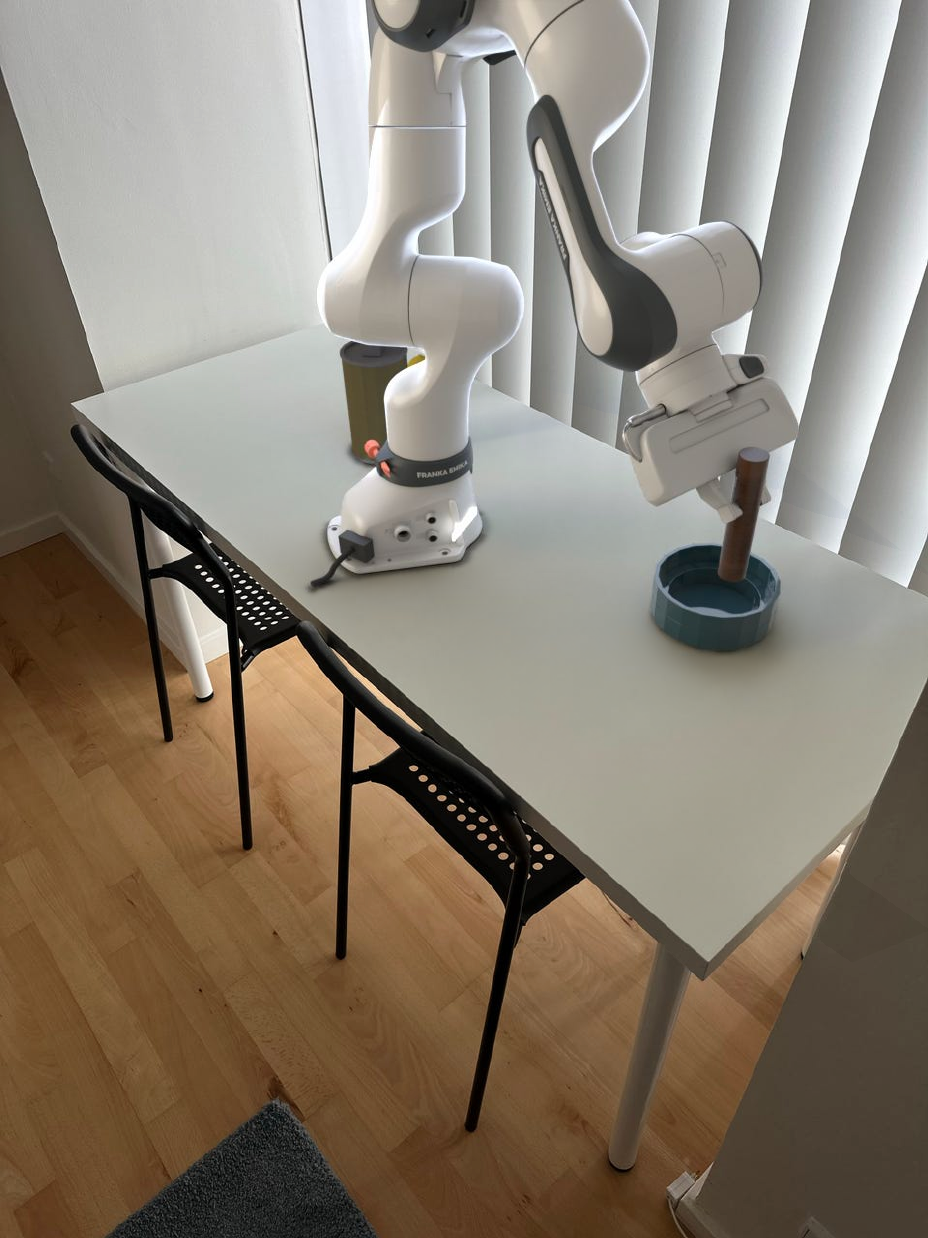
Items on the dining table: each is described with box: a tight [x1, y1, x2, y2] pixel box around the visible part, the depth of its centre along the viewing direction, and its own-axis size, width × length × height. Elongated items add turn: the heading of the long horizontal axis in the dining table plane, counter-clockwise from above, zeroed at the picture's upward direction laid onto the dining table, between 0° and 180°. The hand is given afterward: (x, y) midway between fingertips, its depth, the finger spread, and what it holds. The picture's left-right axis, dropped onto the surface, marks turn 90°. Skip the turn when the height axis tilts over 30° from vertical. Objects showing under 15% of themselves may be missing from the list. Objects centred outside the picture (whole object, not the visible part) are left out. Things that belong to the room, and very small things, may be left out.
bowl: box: [649, 542, 782, 652], centre depth 119 cm, size 15×15×6 cm
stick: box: [718, 447, 771, 582], centre depth 99 cm, size 3×3×15 cm
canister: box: [339, 340, 408, 466], centre depth 150 cm, size 11×10×20 cm
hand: (748, 512), depth 98 cm, fingers closed on stick, 3 cm apart
